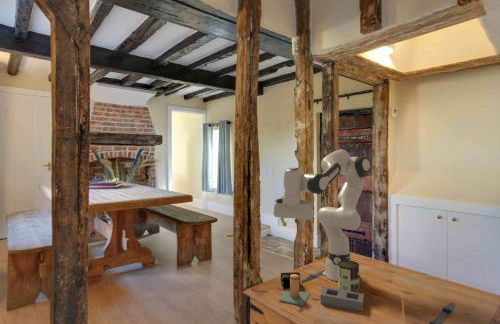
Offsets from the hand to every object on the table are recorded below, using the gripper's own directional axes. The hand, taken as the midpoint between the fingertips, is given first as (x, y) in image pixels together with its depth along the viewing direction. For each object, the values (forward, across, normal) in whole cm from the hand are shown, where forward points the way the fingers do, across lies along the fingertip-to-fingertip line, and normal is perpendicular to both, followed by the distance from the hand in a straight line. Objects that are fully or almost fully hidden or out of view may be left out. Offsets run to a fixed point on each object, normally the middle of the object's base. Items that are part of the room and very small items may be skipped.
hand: (293, 226), depth 147 cm
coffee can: (+33, -25, -10) cm, 43 cm away
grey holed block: (+33, -24, +5) cm, 41 cm away
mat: (+33, -2, +7) cm, 34 cm away
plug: (+32, -2, +7) cm, 33 cm away
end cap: (+33, +4, -5) cm, 34 cm away
